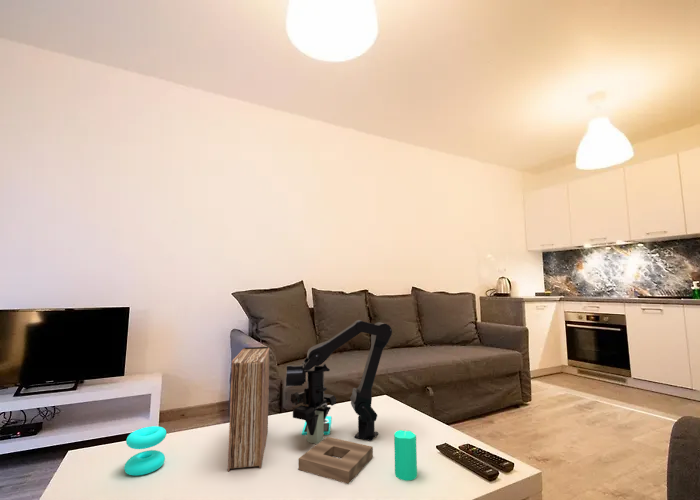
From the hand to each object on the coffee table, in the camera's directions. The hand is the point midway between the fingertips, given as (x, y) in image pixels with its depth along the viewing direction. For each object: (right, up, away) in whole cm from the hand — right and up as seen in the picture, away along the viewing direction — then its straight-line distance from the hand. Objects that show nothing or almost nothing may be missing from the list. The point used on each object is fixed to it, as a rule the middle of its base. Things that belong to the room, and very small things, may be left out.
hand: (315, 432), depth 114 cm
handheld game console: (0, -5, +12) cm, 13 cm away
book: (-20, -2, -7) cm, 21 cm away
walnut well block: (+8, -1, -15) cm, 17 cm away
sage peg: (0, -3, 0) cm, 2 cm away
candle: (+27, 0, -22) cm, 35 cm away
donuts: (-47, -1, -18) cm, 50 cm away
